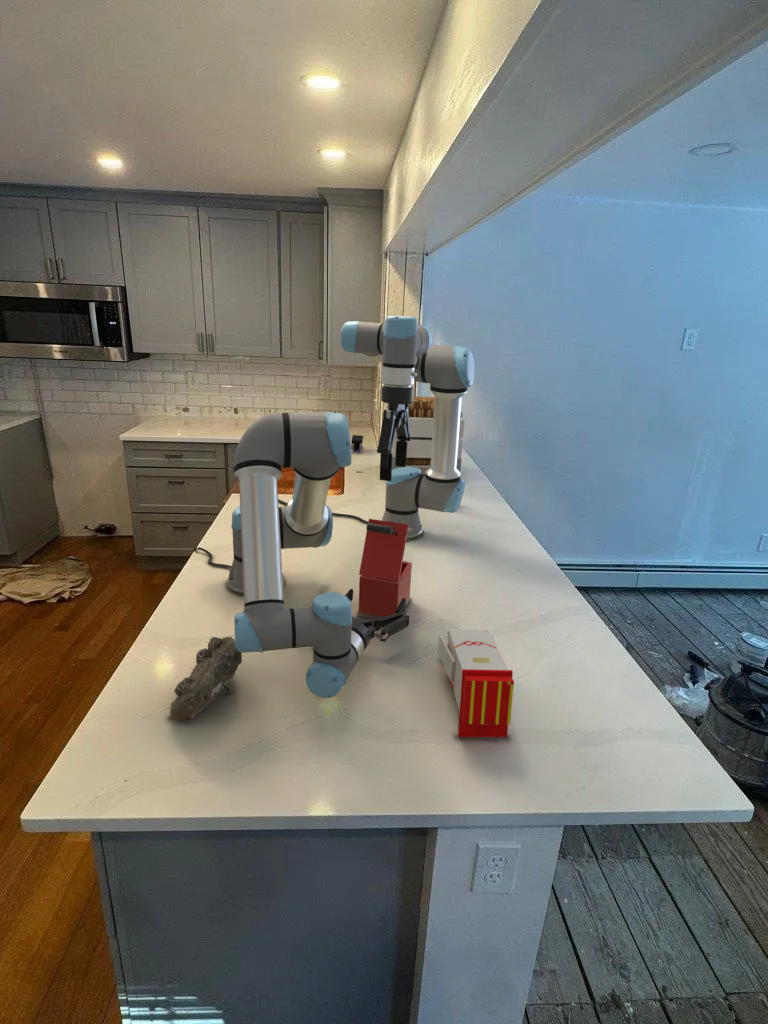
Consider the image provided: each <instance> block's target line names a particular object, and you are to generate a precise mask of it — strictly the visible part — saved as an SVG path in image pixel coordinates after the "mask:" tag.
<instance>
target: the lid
mask: <svg viewBox="0 0 768 1024" xmlns="http://www.w3.org/2000/svg"><path fill="white" fill-rule="evenodd" d="M368 521H369V522H368V524H366V533H365V539H364V544H363V549H362V554H361V555H362V556H361V562H360V565H359V566H360V567H359V573H358V575H359V576H361V575H363V576H368V577H374V578H380V579H386V580H391V581H397V582H399V580H400V574H401V568H402V562H403V561H404V556H405V550H406V545H407V540H406V539H407V533H408V527H409V525H408V524H402V523H395V522H388V521H382V519H375V518H369V519H368Z"/></svg>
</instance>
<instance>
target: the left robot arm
mask: <svg viewBox="0 0 768 1024" xmlns="http://www.w3.org/2000/svg"><path fill="white" fill-rule="evenodd" d="M349 425H350V424H349V420H348V418H347V416H346V415H345V414H344V413H341V412H331V411H313V412H312V411H311V412H309V411H307V412H306V411H305V412H304V411H303V412H282V411H276V412H270V413H267V414H264V415H262V416H260V417H259V418H257V419H256V420H255V421H254V422H252V423H251V425H250V426H248V427H247V429H246V430H245V432H244V433H243V435H242V436H241V438H240V439H239V441H238V444H237V447H236V449H235V454H234V456H233V467H232V468H233V469H232V471H233V479H234V480H235V481H236V482H237V483H238V485H239V487H238V489H239V505H238V506H237V507H236V508H234V509H233V511H232V512H231V513H232V514H231V525H230V527H231V530H232V552H233V560H232V563H231V565H230V564H223V563H217V562H213V561H212V559H213V553H211V552H210V551H208V550H207V549H205V548H203V547H198V546H197V547H195V548H193V550H192V551H193V552H196V551H198V550H199V551H202V552H204V553H206V554H207V555H208V556H209V558H208V560H207V561H208V564H209V565H212V566H215V567H222V568H226V569H227V568H228V569H230V570H229V574H228V579H227V585H228V588H229V589H230V590H231V591H232V592H234V593H236V594H240V595H243V611H241V612H237V613H235V614H234V617H233V618H234V620H233V621H234V640H235V646H236V649H237V650H238V651H239V652H241V653H242V654H244V653H245V654H246V653H261V654H262V653H264V652H271V651H279V650H280V651H281V650H290V649H291V650H292V649H303V648H312V663H311V664H310V665H309V666H308V668H307V671H306V672H305V676H304V682H305V685H306V687H307V689H308V690H309V691H310V692H311V693H312V694H313V695H314V696H316V697H318V698H322V699H331V698H334V697H336V696H337V695H338V694H339V693H340V692H341V690H342V688H344V687H345V686H346V684H347V681H348V679H349V678H350V676H351V674H352V673H353V671H354V669H355V667H356V665H357V664H358V663H359V661H360V660H361V657H362V655H363V654H364V652H365V650H366V648H367V647H368V645H369V644H370V642H371V640H372V639H374V638H378V639H379V638H380V642H382V643H385V642H386V641H387V640H388V639H389V638H391V637H392V636H393V635H396V634H397V633H399V632H400V631H403V630H404V629H406V628H408V627H409V626H410V618H411V617H410V615H408V614H407V608H406V607H405V602H406V599H405V598H403V599H402V600H401V602H400V604H399V606H398V607H397V609H396V613H395V614H392V615H389V616H385V617H382V618H379V619H377V618H363V617H360V616H356V617H354V616H353V614H352V613H353V610H352V601H353V600H354V589H353V588H350V589H348V592H347V593H346V594H342V593H340V592H336V591H335V592H334V591H327V592H324V593H323V594H318V595H316V596H315V597H314V598H313V601H312V603H311V606H305V607H293V608H292V607H291V608H285V594H284V593H285V592H284V581H285V580H284V579H285V578H284V573H283V558H282V550H287V549H303V548H304V549H305V548H313V549H315V548H316V549H317V548H320V547H325V546H327V545H328V544H330V542H331V540H332V536H333V530H334V529H333V528H334V519H333V518H334V517H333V515H332V513H333V512H332V509H331V508H330V507H329V505H326V503H327V499H328V494H329V489H330V487H331V486H330V485H331V481H332V478H333V477H334V476H336V475H337V474H338V473H339V472H340V469H341V468H342V469H343V468H345V467H350V466H351V465H352V450H351V442H352V440H351V432H350V426H349ZM282 469H293V471H294V479H293V488H292V489H293V490H292V498H291V500H289V502H288V505H286V506H279V502H278V499H279V491H278V481H279V480H280V479H281V478H282V475H283V474H282V473H283V472H282ZM197 548H198V549H197Z"/></svg>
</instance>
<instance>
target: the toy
mask: <svg viewBox="0 0 768 1024" xmlns="http://www.w3.org/2000/svg"><path fill="white" fill-rule="evenodd" d="M446 640H447V643H446V641H445V639H444V636H443V635H442V634H439V637H438V646H437V656H438V657H439V659H440V661H441V663H442V666H443V668H444V670H445V672H446V674H447V677H448V679H449V681H450V684H451V687H452V690H453V693H454V697H455V701H456V705H457V708H458V711H459V714H458V715H459V716H458V730H457V731H458V732H457V737H458V738H508V731H509V726H510V725H511V717H512V707H513V697H514V696H513V695H514V684H515V680H514V679H513V673H514V671H513V670H512V669H508V667H507V665H506V662H505V661H504V659H503V658H502V655H501V653H500V651H499V649H498V647H497V643H496V639H495V637H494V635H493V634H491V632H490V631H489V629H467V628H466V629H465V628H463V629H461V628H460V629H459V628H448V630H447V639H446Z"/></svg>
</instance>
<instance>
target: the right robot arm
mask: <svg viewBox="0 0 768 1024" xmlns="http://www.w3.org/2000/svg"><path fill="white" fill-rule="evenodd" d="M340 345H341V348H342V350H343V351H345V352H347V353H353V354H362V355H365V356H366V357H369V358H371V359H373V360H375V361H377V362H378V363H379V362H380V363H382V365H381V384H383V385H382V386H381V395H380V400H381V402H382V403H384V404H387V405H388V404H389V407H388V410H387V409H383V411H382V413H383V414H382V422H381V428H380V434H379V440H378V446H377V449H376V453H377V454H380V457H379V459H380V460H379V478H378V479H379V481H384V482H385V481H386V482H385V504H384V505H385V507H384V508H385V509H384V513H383V515H382V519H381V521H388V522H395V523H402V524H408V525H409V527H408V533H407V539H406V541H410V540H415V539H418V538H420V537H421V536H422V535H423V525H422V524H421V518H420V515H419V509H424V510H430V511H435V512H441V513H450V514H453V513H456V512H457V511H458V509H459V508H460V505H461V502H462V500H463V496H464V493H465V492H464V491H465V489H466V480H465V479H463V478H461V474H460V472H459V471H458V470H457V468H456V466H457V453H458V440H459V427H460V414H461V412H462V401H463V400H462V398H463V396H464V395H466V394H467V393H468V388H471V387H472V386H473V384H474V379H475V378H474V377H475V361H474V360H475V359H474V356H473V352H472V351H471V350H470V349H469V348H468V347H464V346H459V345H458V346H457V345H441V344H440V345H439V344H433V336H432V333H431V332H430V330H429V328H427V327H426V326H424V325H422V324H419V323H418V320H417V317H415V316H410V315H409V316H406V315H388V316H386V317H385V319H384V322H383V323H382V322H368V321H367V322H366V321H359V320H356V321H346V322H345V323H344V324H343V325H342V327H341V329H340ZM415 382H417V383H420V384H421V383H422V384H429V391H430V392H431V393H432V394H433V397H434V414H433V431H432V449H431V465H430V466H429V468H427V469H426V470H425V473H422V469H421V468H419V467H417V466H407V465H406V459H407V442H406V441H411V437H410V426H409V413H408V408H409V404H410V403H412V402H413V396H414V390H415V389H414V387H413V385H414V384H415ZM396 433H397V438H398V440H400V441H396V460H395V466H399V467H402V468H397V469H393V470H392V457H393V454H392V453H391V452H392V447H393V443H394V439H395V435H396ZM385 447H386V448H385ZM278 503H280V504H283V505H285V506H287V505H288V504H289V502H286V501H283V500H281V499H279V498H278ZM332 516H334V517H335V516H336V517H345V518H352V519H356V520H358V521H360V522H362V523H363V524H366V525H367V524H368V522H369V520H365V519H363V518H361V517H359V516H356V515H353V514H348V513H347V514H346V513H337V512H332Z"/></svg>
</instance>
